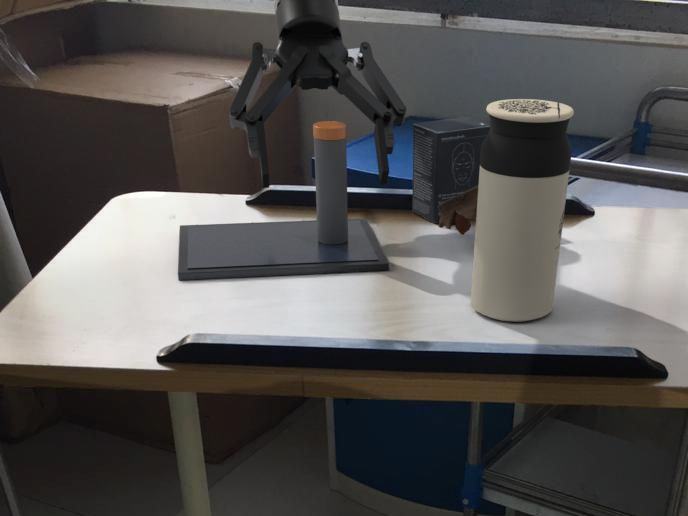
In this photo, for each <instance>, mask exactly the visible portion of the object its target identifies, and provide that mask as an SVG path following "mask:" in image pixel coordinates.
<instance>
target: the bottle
mask: <svg viewBox="0 0 688 516" xmlns="http://www.w3.org/2000/svg"><path fill="white" fill-rule="evenodd" d="M347 134H348V132H347V123H345V122H341V121H333V120H326V121H325V120H324V121H317V122H315V123H313V124H312V137H313V147H314V149H313V151H314V175H315V201H316V202H315V203H316V205H315V207H316V220H317V231H318V241H319V242H320V243H323V244H328V245H338V244H343V243H345V242H347V241H348V219H349V215H348V214H349V213H348V208H349V207H348V206H349V205H348V160H347V157H348V156H347V153H348V152H347V136H348V135H347Z"/></svg>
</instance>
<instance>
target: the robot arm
mask: <svg viewBox="0 0 688 516" xmlns="http://www.w3.org/2000/svg"><path fill="white" fill-rule="evenodd" d="M338 1H339V0H273V8H274V13H275V15H274V19H275V20H274V21H275V28H276V38H277V47H276V48H275V49H274V48H264V45H263V44H262V43H261V42H260V41H255V42H253V43H252V46H251V49H252V50H251V61H250V63H249V65H248V67H247V70H246V72H245V73H244V76H243V79H242V80H241V82H240V85H239V87H238V90H237V92H236V94H235V96H234V98H233V100H232V103H231V105H230V107H229V110H228V113H229V115H228V116H229V124H230V125H229V126H230V127H231V129H233V130H238V129H240V130H244V132H246V137H247V147H248V154H249V156H250V158H259V165H260V175H261V176H260V177H261V184H262V189H269V188H270V171H269V160H268V152H267V151H268V149H267V141H266V132H265V123H266V121H267V120H268V119H269V117H270V116H271V115H272V114H273V112H275V110H276V109H277V108H278V107H279V106H280V104H281V103H282V102H283V100H284V99H285V98H286V96H289V95H291V93H292V92H293V90H294V89H295V88H296V87H298V88H300V89H301V91H309V90H313V89H317V90H322V91H323V90H328V89H329V88H333V89H334V90H335V92H337V93H338V94H339V95H343V96H344V97H346V99H348V100H349V101H350V102H351V103H352V104H353V105H354V106H355V107H356V108H357V109H358V110H359V111H360V112H361V113H362V114H363V115H364V116H365V117H367V119H369V120H370V121H371V122H372V123H373V124H374V130H373V137H374V138H373V139H374V146H375V154H376V162H377V163H376V164H377V169H378V170H377V171H378V178H379V185H387V183H388V180H389V174H390V165H389V158H388V155H392V154H393V151H394V148H395V144H396V142H395V135H394V127H395V126H396V127H401V126H403V124H404V122H405V117H406V113H407V106H406V105H405V103H404V101H403V100H402V99H401V98H400V96H399V94H398V93H397V91H396V90H395V88H394V87H393V85H392V83H390V81H389V79H388V78H387V77H386V74H384V72H383V71H382V69H381V67H380V66H379V65H378V63H377V61H376V60H375V58H374V55H373V51H372V47H371V44H370V43H369V42H368V41H362V42H361V43H360V45H359V47H354V48H347V47H346V45H345V44H344V42H343V33H342V26H341V17H340V11H339V2H338ZM274 63H275V64H276V65H277V67H278V69H279V71H278V74H277V76H276V77H275V78H274V80H272V82H271V83H270V84H269V86H268V87H267V88H266V89H265V90H264V92H263V93H262V95H260V97H259V98H258V99H257V100H256V101H255V103H254V104H253V106H252V107H250V106H251V104H252V102H253V100H254V97H255V95H256V93H257V91H258V88H259V87H260V84H261V82H262V79H263V75H264V72H268V70H269V69H270V67H271V65H272V64H274ZM348 63H351V64H353V66H354V67H355V68H356V71H359V72H360V73H361V75H362V77H363V79H364V81H365V82H366V84H367V85H368V86H369V88H370V89H371V91H372V92H371V91H370V90H369V89H368V88H367V87H366V86H365V85H364V84H363V83H361V81H360V80H358V78H356V77H355V76H354V75H353V74H352V71H351V69H350V68H349V67H348V66H347V65H348ZM249 108H250V109H249Z"/></svg>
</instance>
